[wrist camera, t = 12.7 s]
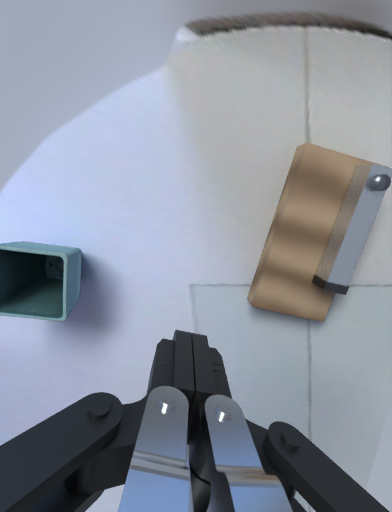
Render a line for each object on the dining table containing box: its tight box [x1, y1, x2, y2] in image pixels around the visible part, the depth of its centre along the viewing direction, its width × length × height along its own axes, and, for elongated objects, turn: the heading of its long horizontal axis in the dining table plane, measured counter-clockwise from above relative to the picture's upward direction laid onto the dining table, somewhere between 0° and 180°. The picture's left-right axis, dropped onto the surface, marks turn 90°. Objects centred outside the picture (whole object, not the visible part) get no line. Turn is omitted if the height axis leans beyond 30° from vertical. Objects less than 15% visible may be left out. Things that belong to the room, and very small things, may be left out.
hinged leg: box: [312, 164, 392, 295], centre depth 33 cm, size 17×3×4 cm, turn 167°
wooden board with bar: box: [247, 143, 388, 322], centre depth 36 cm, size 24×12×4 cm, turn 166°
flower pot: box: [0, 242, 82, 321], centre depth 33 cm, size 9×9×9 cm
